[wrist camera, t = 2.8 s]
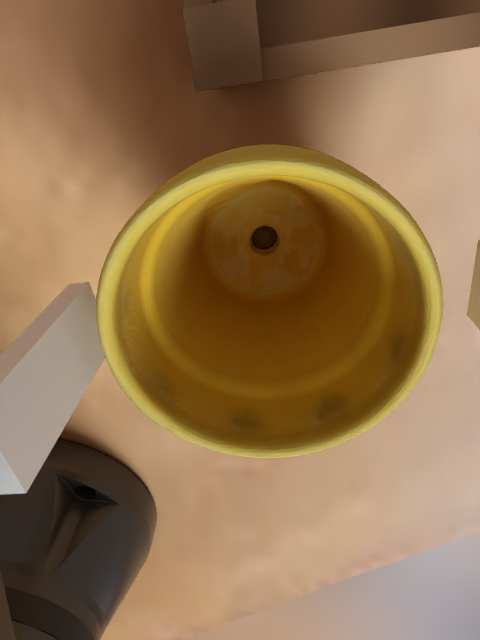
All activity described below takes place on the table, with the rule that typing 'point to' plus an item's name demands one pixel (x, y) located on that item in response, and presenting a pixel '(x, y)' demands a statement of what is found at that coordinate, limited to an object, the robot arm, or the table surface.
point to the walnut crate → (318, 35)
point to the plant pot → (269, 303)
